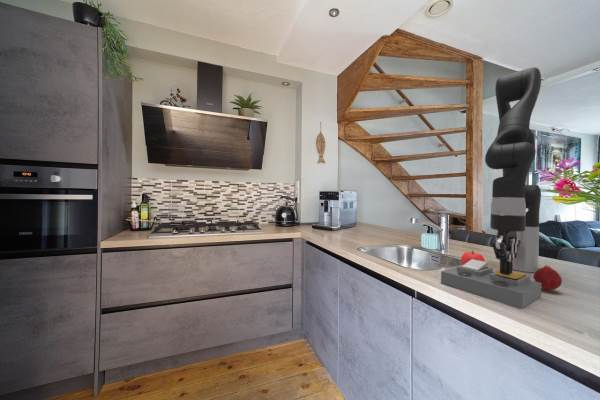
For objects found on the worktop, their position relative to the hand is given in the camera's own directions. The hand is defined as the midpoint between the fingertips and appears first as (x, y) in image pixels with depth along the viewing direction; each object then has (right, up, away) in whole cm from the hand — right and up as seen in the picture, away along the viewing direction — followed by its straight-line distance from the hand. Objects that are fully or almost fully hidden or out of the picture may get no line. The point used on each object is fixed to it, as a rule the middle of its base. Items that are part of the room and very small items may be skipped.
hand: (505, 273), depth 67 cm
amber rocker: (+3, -1, +2) cm, 3 cm away
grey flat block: (-2, -6, +4) cm, 8 cm away
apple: (+7, -6, +22) cm, 24 cm away
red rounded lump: (+16, -7, +4) cm, 18 cm away
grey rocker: (-2, -1, +9) cm, 10 cm away
